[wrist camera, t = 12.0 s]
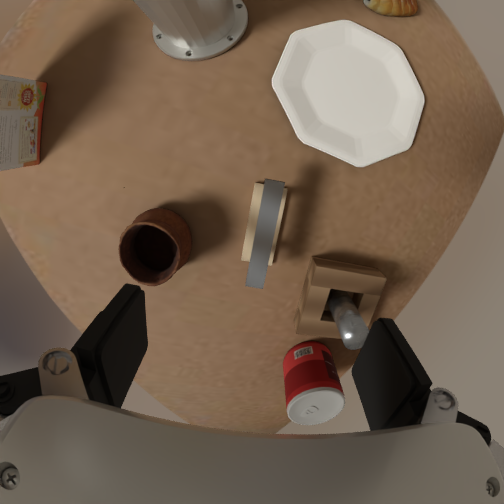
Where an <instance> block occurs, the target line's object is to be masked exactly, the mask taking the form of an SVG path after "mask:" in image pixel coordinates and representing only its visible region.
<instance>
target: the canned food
mask: <svg viewBox="0 0 504 504" xmlns="http://www.w3.org/2000/svg"><path fill="white" fill-rule="evenodd" d="M283 370H284V382H285V395H286V407H287V413H288V417H289V418H290V419H291V420H292V421H293V422H295V423H298V424H302V425H314V424H320V423H323V422H326V421H328V420H330V419H332V418H334V417H335V416H337V415H338V414H339V413H340V412H341V411H342V409H343V408H344V405H345V398H344V394H343V390H342V387H341V384H340V380H339V377H338V374H337V371H336V367H335V364H334V361H333V358H332V355H331V352H330V350H329V349H328V348H327V347H326V346H325V345H323V344H322V343H319V342H315V341H308V342H303V343H300V344H298V345H296V346H294V347H293V348H291V349H290V350H289V351H288V353H287V354H286V356H285V358H284V362H283Z"/></svg>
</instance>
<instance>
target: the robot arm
mask: <svg viewBox="0 0 504 504" xmlns="http://www.w3.org/2000/svg"><path fill="white" fill-rule="evenodd" d="M133 1H134V2H135V3H136V4H137V5H138V6H139V8H140V9H141V10H142V11H143V12H144V13H145V14H146V15H147V16H148V17H149V19H150V20H151V21H152V22H153V23H154V24H153V37H154V41H155V43H156V44H157V46H158V47H159V48H160V49H161V50H162V51H163V52H164V53H165V54H167V55H168V56H170V57H172V58H175V59H179V60H183V61H199V60H205V59H209V58H212V57H215V56H218V55H220V54H222V53H224V52H225V51H227V50H229V49H230V48H231V47H233V46H234V45H235V44H236V43H237V42H238V41H239V40H240V39H241V37H242V36H243V34H244V33H245V30H246V28H247V25H248V12H247V9H246V6H245V4H244V3H243V1H242V0H133ZM238 8H239V9H238ZM230 39H233V40H232V41H229V40H230ZM190 54H192V55H191V56H189V55H190ZM147 347H148V339H147V326H146V311H145V293H144V291H143V290H141V288H140V286H137V285H132V284H125V285H124V286H123V287H122V288H121V289H120V291H119V292H118V293H117V294H116V295H115V297H114V298H113V299H112V300H111V302H110V303H109V304H108V305H107V307H106V308H105V309H104V310H103V311H101V312H100V313H99V314H98V315H97V316H96V318H95V319H94V320H93V321H92V323H91V324H90V325H89V326H88V328H87V329H86V330H85V332H84V333H83V334H82V336H81V337H80V338H79V340H78V341H77V342H76V343H75V345H74V346H73V347H72V349H71V350H68V349H65V348H53V349H49V350H48V351H46V352H44V353H43V354H42V355H41V357H40V359H39V361H38V367H36V368H32V369H28V370H24V371H20V372H16V373H12V374H7V375H3V376H0V504H504V448H503V447H502V446H500V445H499V444H498V443H497V442H496V441H495V440H492V441H491V434H490V431H489V429H488V427H487V426H486V425H484V424H483V423H481V422H479V421H477V420H475V419H473V418H471V417H469V416H467V415H465V414H463V413H461V412H459V411H458V401H457V398H456V397H455V395H454V394H452V392H450V391H449V390H447V389H444V388H435V389H433V390H432V391H431V390H430V386H431V385H432V382H431V380H430V378H429V376H428V375H427V373H426V371H425V370H424V368H423V366H422V365H421V363H420V361H419V360H418V358H417V357H416V355H415V353H414V352H413V350H412V348H411V347H410V345H409V344H408V342H407V341H406V339H405V338H404V336H403V335H402V333H401V331H400V330H399V328H398V327H397V325H396V324H395V322H394V321H393V320H392V319H390V318H379V319H378V320H377V321H375V322H374V323H373V324H372V327H371V329H370V331H369V334H368V336H367V338H366V340H365V342H364V345H363V347H362V349H361V351H360V353H359V355H358V357H357V359H356V361H355V363H354V365H353V367H352V376H353V379H354V382H355V385H356V388H357V390H358V394H359V396H360V399H361V402H362V405H363V408H364V412H365V415H366V418H367V421H368V424H369V427H370V430H371V431H366V432H354V433H340V434H317V435H316V434H315V435H314V434H313V435H296V434H294V435H293V434H267V433H253V432H242V431H232V430H224V429H216V428H209V427H202V426H196V425H191V424H185V423H180V422H175V421H170V420H166V419H161V418H157V417H152V416H148V415H144V414H140V413H136V412H132V411H128V410H125V409H121V406H122V404H123V402H124V399H125V397H126V395H127V392H128V390H129V388H130V386H131V383H132V381H133V379H134V377H135V374H136V372H137V370H138V368H139V366H140V364H141V361H142V359H143V357H144V355H145V353H146V350H147Z"/></svg>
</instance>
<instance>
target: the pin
mask: <svg viewBox="0 0 504 504" xmlns="http://www.w3.org/2000/svg"><path fill="white" fill-rule="evenodd" d="M327 304H328V306H329V308H330V311H331V313H332V316H333V318H334V321H335V323H336V326H337V328H338V331H339V333H340V336H341V338H342V341H343V343H344V345H345V347H346V348H348V349H351V350H356V349H359V348H361V347H363V345H364V342H365V340H366V338H367V336H368V334H369V329H368V327H367V326H366V324H365V322H364V320H363V318H362V317H361V315H360V313H359V311H358V310H357V308H356V306H355V304H354V303H353V301H352V299H351V297H350V296H349V294H348V292H347V291H343V290H337V289H330V292H329V295H328V298H327Z"/></svg>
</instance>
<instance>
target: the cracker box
mask: <svg viewBox="0 0 504 504" xmlns="http://www.w3.org/2000/svg"><path fill="white" fill-rule="evenodd" d="M46 87H47V83H45V82H40V81H35V80H30V79H24V78H19V77H13V76H6V75H0V171H3V170H9V169H14V168H20V167H26V166H32V165H37V164H39V162H40V137H41V125H42V115H43V106H44V99H45V93H46Z"/></svg>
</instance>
